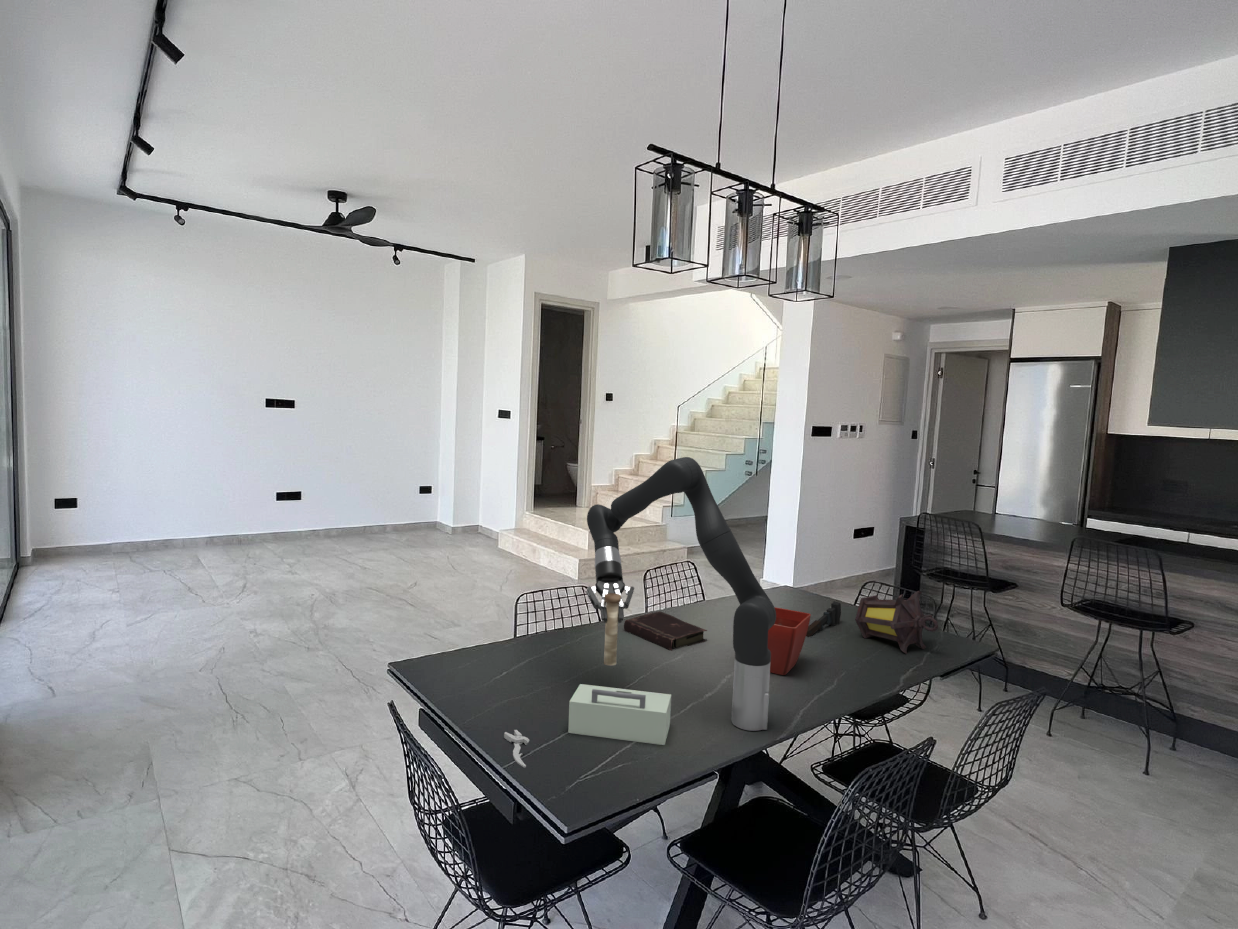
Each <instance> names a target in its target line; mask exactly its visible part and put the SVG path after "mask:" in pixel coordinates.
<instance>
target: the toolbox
mask: <svg viewBox="0 0 1238 929" xmlns="http://www.w3.org/2000/svg"><path fill="white" fill-rule="evenodd" d="M568 703H569V704H568V705H569V706H568V728H567V729H568V731H567V732H568V733H569V734H574V735H575V734H576V735H582V736H591V737H598V738H605V739H606V738H607V739H614V740H621V741H629V742H637V743H646V744H653V745H658V746H659V745H660V746H665V745H666V741H667V737H668V735H669V730H670V726H671V712H672V711H671V709H672V694H671V693H660V692H653V691H652V692H651V691H645V690H644V691H643V690H634V689H627V688H626V689H625V688H618V687H617V688H616V687H609V686H601V685H600V686H599V685H594V684H593V685H591V684H583V683H582V684H581V683H580V684H579V685H578V687H577V689H576V690H575V692H574V693H573V695H572V697H571V698H570V700H569V702H568Z"/></svg>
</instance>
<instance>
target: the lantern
mask: <svg viewBox="0 0 1238 929" xmlns="http://www.w3.org/2000/svg"><path fill="white" fill-rule="evenodd" d="M922 594H923V592H922V591H921V590H917V591H915V592H914V593H912V594H911V595H910V597H908V598H907V599H904V597H903V596H904V594H900V595H899V596H897V599H880V598H879V597H878V595H871V596H866V597H862V598H860V600H859V605H858V607H857V612H856V615H855V622H856V625H857V627H858V629H859V632H860V633H861V635H862V637H863V638H864V639H869V638H873V637H878V638H880V639H881V638H882V639H885V640H888V641H889V640H890V641H893V642H897V644H898V646H899V648H900V649H899V650H900V651H902V652H903V653H904V654H906V655H908V652H907V650H908V647H909V646H910V645H913V644H915V646H917V647H918V648H920V649H922V650H925V649H926V647H927V646H926V645H925V644H924V642H923V629H925V630H926V631H928V632H936V631H937V630H938V628H939V623H938V621H937V620H936V619H935V618H934V617H933V614H924V612H923V610H922V608H921V606H920V597H921V595H922ZM927 621H929V622H930V621H931V622H933V624H934V626H933V627H928V626H927V624H926V622H927Z"/></svg>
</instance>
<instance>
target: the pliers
mask: <svg viewBox="0 0 1238 929" xmlns="http://www.w3.org/2000/svg"><path fill="white" fill-rule="evenodd" d="M513 731H514V732H513V734H512V733H509V732H507V731H505V732H504V734H503V738H504V739H505V740H506V741H507V742H510V743H513V746H514V748H513V750H512V757H513V759H514V760H515V762H516V763H517V764H518V765H519V766H520V767H522V768H524V769H525V768H527V764H525V763H524V761H523V760H522V759H521V757H522V756H523V755H524V753H523V752H522V753H520V752H521V745H523V744H524V745H525V746H527V745H528V744H529V742H530V739H529V738H528V737H526V736H524V735H523V734H522V733H521V732H520V731H518V729H513Z"/></svg>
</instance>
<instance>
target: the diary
mask: <svg viewBox="0 0 1238 929" xmlns="http://www.w3.org/2000/svg"><path fill="white" fill-rule="evenodd" d="M623 631H625V632H627V633H629V634H632V635H634V636H637V637H639V638H642V639H643V640H645V641H648V642H650V643H653V644H655V645H657V646H660V647H662V648H664V649H667V650H669V651H671V652H672V651H673V650H676V649H678V648H682V647H686V646H688V647H690V646H695V645H699V644H702V643H705V642H707V640H708V639H707V638H705V639H704V632H708V629H705V628H703V627H700V626H697V625H696V624H695V625H694V624H691V623H688V622H687V621H683V619H679V618H677V617H676V616H673V615H671V614H668V613H666V612H664V611H660V610H659V611H655V612H649V613H647V614H642V615H638V616H635V617H631V618H629V619H625V620H624V623H623Z"/></svg>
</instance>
